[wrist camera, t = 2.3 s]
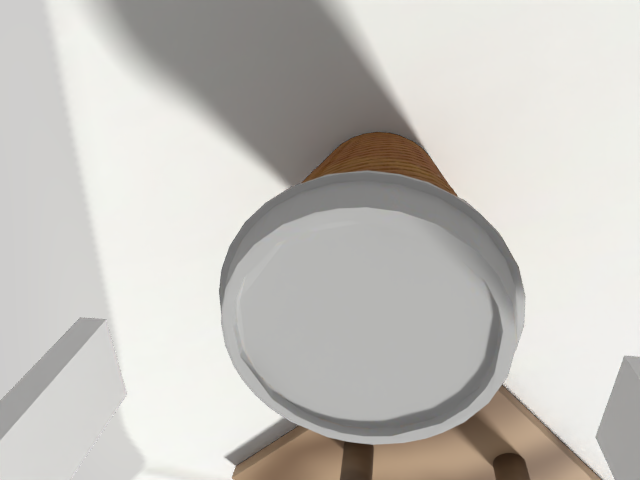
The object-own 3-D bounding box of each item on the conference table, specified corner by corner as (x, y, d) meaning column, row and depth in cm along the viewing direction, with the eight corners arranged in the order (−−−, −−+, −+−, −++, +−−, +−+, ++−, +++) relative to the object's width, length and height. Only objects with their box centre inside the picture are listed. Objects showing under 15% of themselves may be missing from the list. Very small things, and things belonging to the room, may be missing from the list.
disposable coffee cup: (516, 188, 23) (613, 347, 13) (381, 301, 27) (371, 492, 17) (372, 52, 21) (347, 108, 11) (252, 196, 26) (149, 336, 15)
